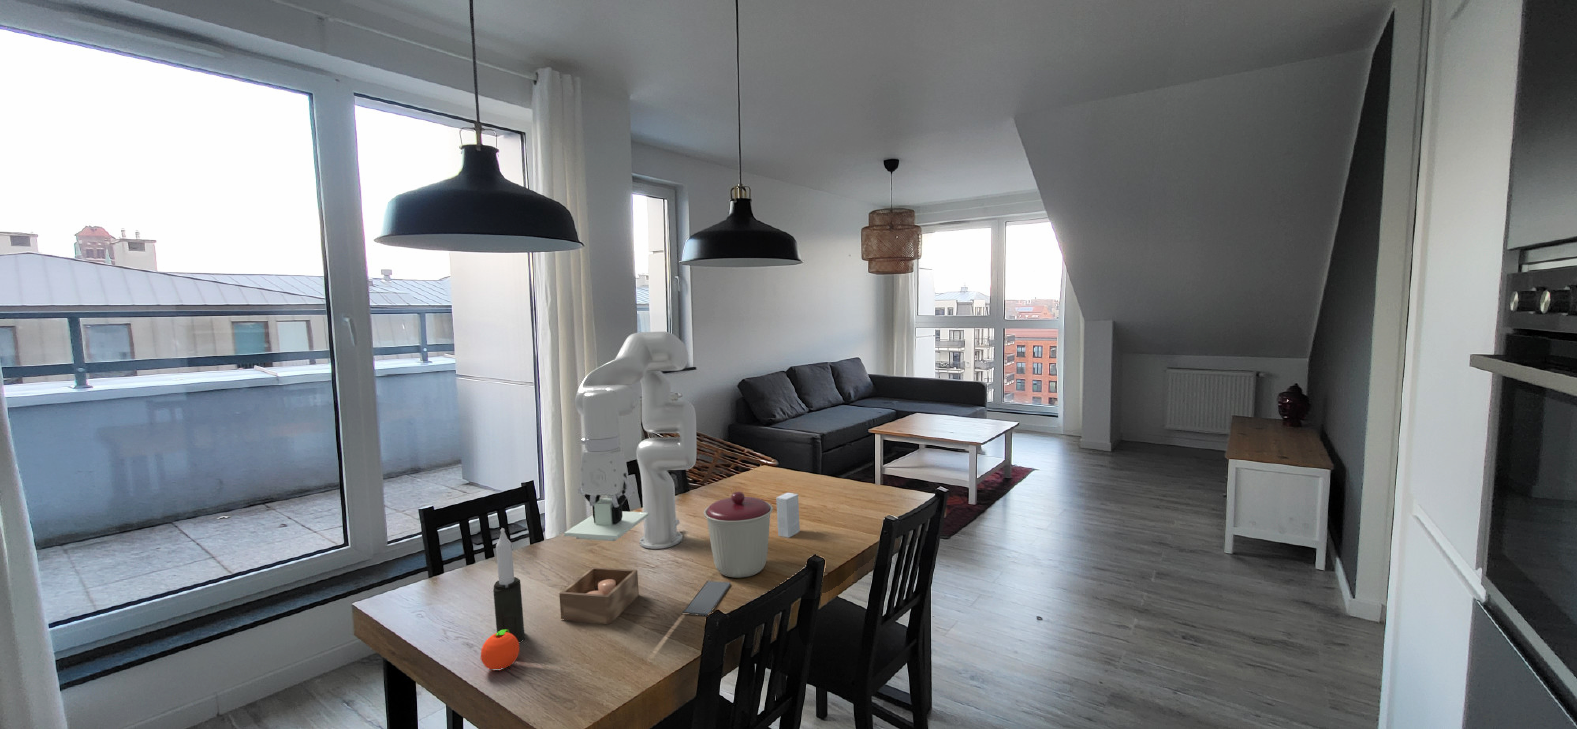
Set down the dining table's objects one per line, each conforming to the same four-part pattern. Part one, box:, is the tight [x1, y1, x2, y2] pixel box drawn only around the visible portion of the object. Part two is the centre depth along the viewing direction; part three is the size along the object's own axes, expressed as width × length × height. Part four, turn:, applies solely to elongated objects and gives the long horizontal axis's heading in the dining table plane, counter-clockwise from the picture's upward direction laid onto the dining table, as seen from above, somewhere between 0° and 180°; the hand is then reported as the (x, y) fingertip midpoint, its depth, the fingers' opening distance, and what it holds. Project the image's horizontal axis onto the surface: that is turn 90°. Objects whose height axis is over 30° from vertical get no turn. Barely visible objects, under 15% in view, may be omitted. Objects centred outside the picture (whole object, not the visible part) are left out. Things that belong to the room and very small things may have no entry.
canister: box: [703, 491, 774, 579], centre depth 161 cm, size 18×18×21 cm
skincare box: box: [775, 491, 801, 539], centre depth 186 cm, size 6×4×12 cm
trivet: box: [682, 580, 731, 617], centre depth 147 cm, size 16×16×1 cm
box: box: [558, 566, 640, 625], centre depth 142 cm, size 14×12×7 cm
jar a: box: [598, 579, 616, 595], centre depth 145 cm, size 4×4×4 cm
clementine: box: [480, 629, 520, 670], centre depth 121 cm, size 8×7×7 cm
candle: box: [492, 527, 525, 643], centre depth 129 cm, size 5×5×25 cm
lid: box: [563, 497, 649, 542], centre depth 141 cm, size 15×13×7 cm
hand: (608, 520), depth 141 cm, fingers closed on lid, 4 cm apart
